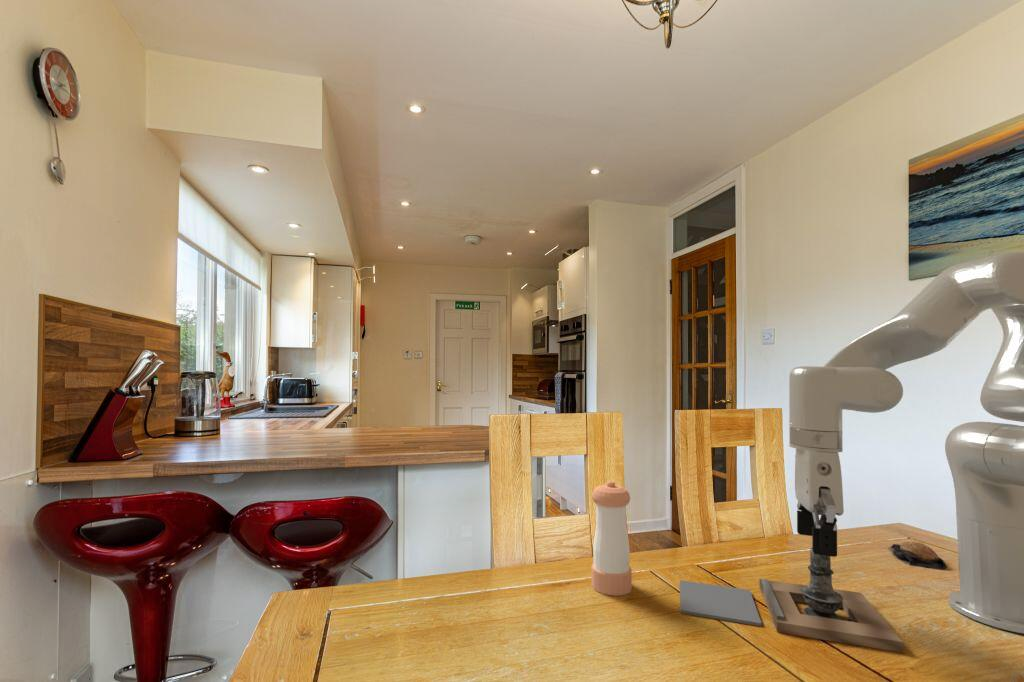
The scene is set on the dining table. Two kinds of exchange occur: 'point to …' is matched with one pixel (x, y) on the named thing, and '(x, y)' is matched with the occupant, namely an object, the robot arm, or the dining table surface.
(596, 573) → the pepper shaker
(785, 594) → the brown wooden square frame
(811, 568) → the salt shaker
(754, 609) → the slate mat
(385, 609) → the dining table surface
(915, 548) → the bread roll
